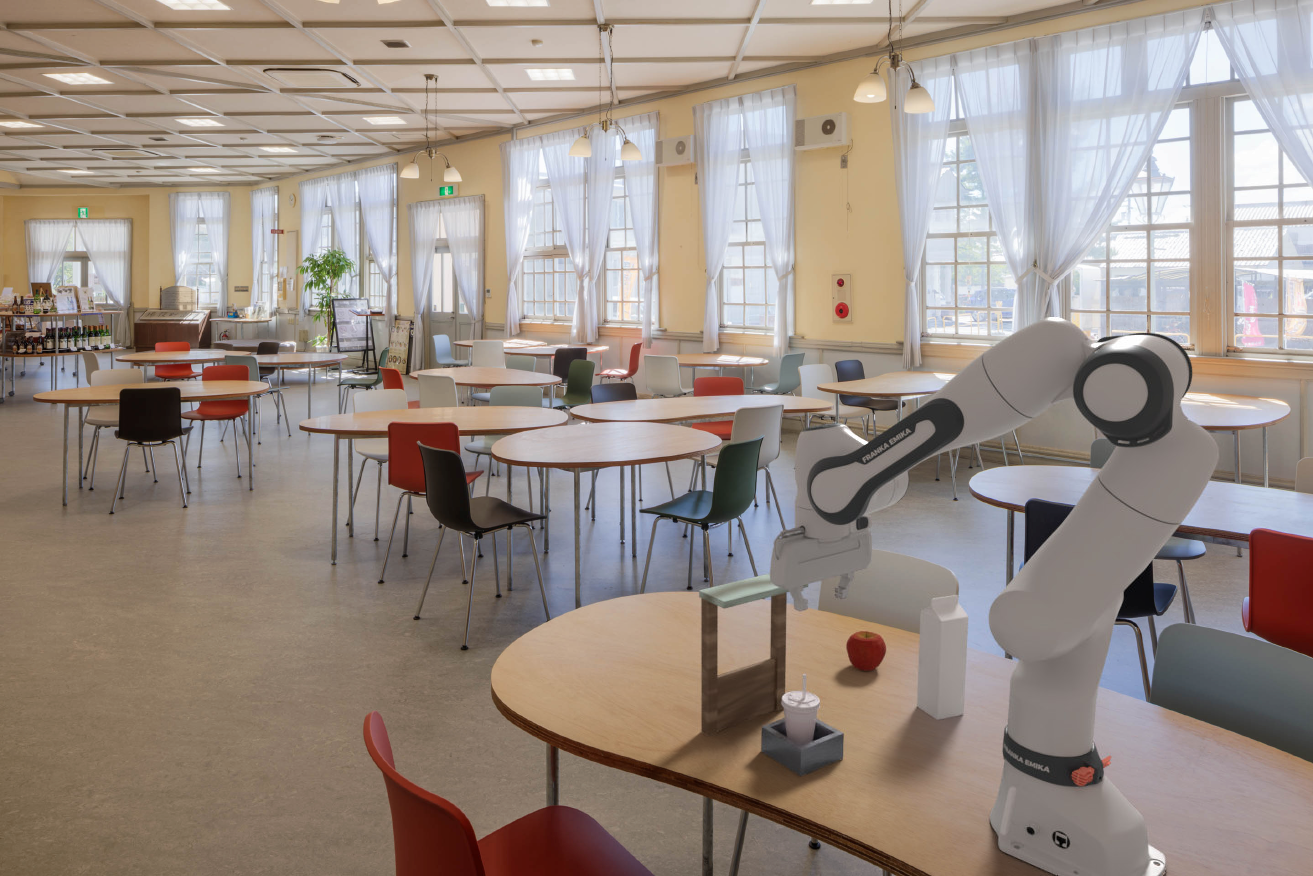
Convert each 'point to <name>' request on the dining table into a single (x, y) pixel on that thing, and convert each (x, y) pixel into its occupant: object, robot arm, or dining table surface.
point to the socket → (802, 747)
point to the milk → (942, 658)
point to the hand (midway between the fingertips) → (821, 603)
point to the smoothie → (800, 714)
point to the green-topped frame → (747, 686)
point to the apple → (865, 650)
